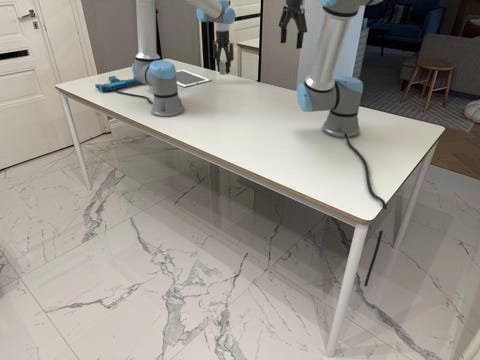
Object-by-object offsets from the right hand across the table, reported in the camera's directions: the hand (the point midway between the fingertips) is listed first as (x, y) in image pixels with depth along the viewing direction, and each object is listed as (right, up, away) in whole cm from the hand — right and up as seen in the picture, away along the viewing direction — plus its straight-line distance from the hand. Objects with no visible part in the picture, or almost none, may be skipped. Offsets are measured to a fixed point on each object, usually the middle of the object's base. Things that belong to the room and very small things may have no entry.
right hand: (290, 45), depth 161 cm
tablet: (-60, +1, +55) cm, 81 cm away
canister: (-34, 0, +42) cm, 54 cm away
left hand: (-34, +1, +42) cm, 54 cm away
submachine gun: (-95, -5, +46) cm, 106 cm away
